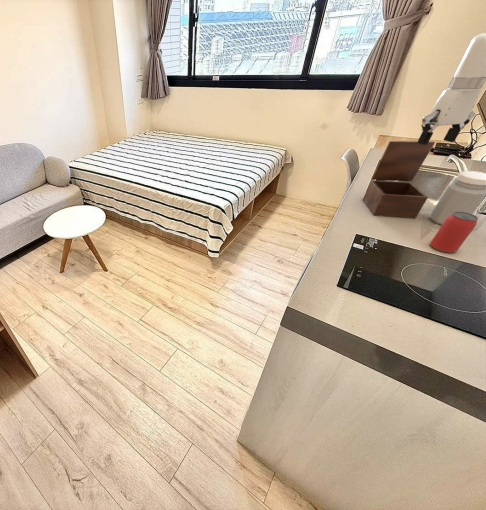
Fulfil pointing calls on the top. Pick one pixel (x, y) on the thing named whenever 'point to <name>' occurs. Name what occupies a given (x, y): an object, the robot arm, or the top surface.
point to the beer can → (454, 232)
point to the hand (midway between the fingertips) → (435, 142)
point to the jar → (461, 196)
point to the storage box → (394, 199)
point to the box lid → (401, 160)
